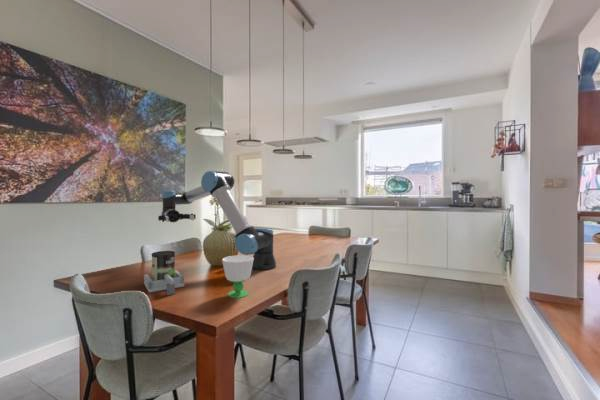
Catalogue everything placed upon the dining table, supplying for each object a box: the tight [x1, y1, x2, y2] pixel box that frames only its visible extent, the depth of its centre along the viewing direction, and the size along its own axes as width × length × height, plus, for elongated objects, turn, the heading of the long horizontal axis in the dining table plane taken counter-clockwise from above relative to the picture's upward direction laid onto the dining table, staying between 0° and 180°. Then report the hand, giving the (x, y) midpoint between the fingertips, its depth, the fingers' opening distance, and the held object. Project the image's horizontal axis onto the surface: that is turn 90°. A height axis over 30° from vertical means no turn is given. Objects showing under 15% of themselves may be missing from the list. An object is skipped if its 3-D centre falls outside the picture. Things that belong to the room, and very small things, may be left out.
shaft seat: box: [143, 269, 185, 296], centre depth 138 cm, size 24×15×7 cm, turn 35°
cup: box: [221, 254, 254, 299], centre depth 129 cm, size 14×14×16 cm
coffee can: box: [150, 250, 176, 281], centre depth 142 cm, size 10×10×14 cm
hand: (180, 218), depth 164 cm, fingers open, 13 cm apart
